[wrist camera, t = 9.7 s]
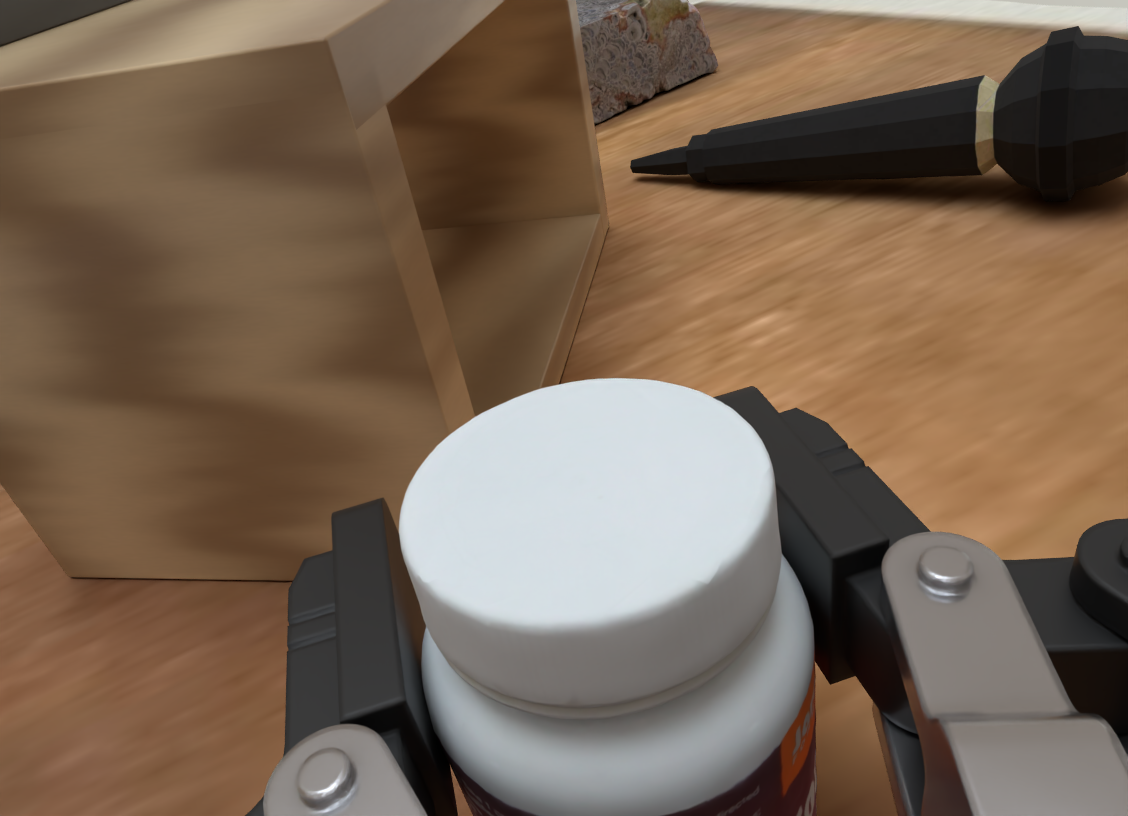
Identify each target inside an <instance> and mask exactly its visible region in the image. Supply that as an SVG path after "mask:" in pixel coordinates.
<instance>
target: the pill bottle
mask: <svg viewBox="0 0 1128 816" xmlns="http://www.w3.org/2000/svg"><path fill="white" fill-rule="evenodd" d="M399 537H400V544H401V551H402V555H403V558H404V562H405V564H406V567H407V570H408V572H409V575H410V578H411V581H412V584H413V587H414V590H415V592H416V595H417V598H418V601H419V604H420V608H421V613H422V616H423V619H424V622H425V624H426V629H425V633H424V638H423V643H422V659H421V669H422V684H423V689H424V694H425V699H426V703H427V707H428V711H429V714H430V718H431V722H432V726H433V729H434V732H435V735H436V737H437V740H438V741H439V743H440V745H441V747H442V749H443V751H444V753H445V755H446V757H447V759H448V761H449V763H450V765H451V767H452V770H453V772H454V774H455V776H456V779H457V781H458V783H459V786H460V788H461V790H462V792H463V794H464V797H465V799H466V801H467V803H468V806H469V808H470V810H471V812H472V814H473V816H817V815H816V812H817V807H816V791H817V774H816V733H815V726H816V711H815V678H816V676H815V649H814V626H813V622H812V618H811V613H810V609H809V605H808V602H807V599H806V596H805V594H804V591H803V589H802V586H801V584H800V582H799V580H798V578H797V576H796V574H795V573H794V571H793V569H792V567H791V566H790V564H789V563H788V561H787V560H786V558H785V557H784V556H783V554H782V550H781V541H780V534H779V525H778V513H777V498H776V486H775V477H774V471H773V467H772V463H771V460H770V457H769V454H768V452H767V450H766V448H765V446H764V444H763V442H762V440H761V438H760V437H759V435H758V434H757V433H756V431H755V430H754V429H753V427H752V426H751V425H750V424H749V423H748V422H747V421H746V420H745V419H743V418H742V417H741V416H740V415H739V414H738V413H737V412H736V411H734V410H733V409H732V408H731V407H729V406H727V405H725V404H724V403H722V402H720V401H718V400H716V399H714V398H712V397H711V396H708V395H706V394H704V393H702V392H700V391H696V390H693V389H690V388H687V387H684V386H680V385H675V384H671V383H666V382H661V381H655V380H647V379H627V378H609V379H589V380H583V381H574V382H569V383H564V384H560V385H555V386H550V387H545V388H541V389H538V390H535V391H532V392H529V393H527V394H524V395H521V396H519V397H516V398H514V399H511V400H509V401H507V402H505V403H503V404H500V405H498V406H496V407H494V408H491V409H489V410H487V411H485V412H483V413H481V414H480V415H478V416H476V417H474V418H473V419H471V420H470V421H468V422H467V423H465V424H464V425H462V426H461V427H460V428H458V429H457V430H456V431H454V432H453V433H452V434H450V435H449V436H448V437H446V438H445V439H444V440H443V441H442V442H441V443H440V444H439V445H437V447H436V448H435V449H434V450H433V451H432V452H431V453H430V454H429V456H428V457H427V458H426V459H425V461H424V462H423V463H422V465H421V466H420V467H419V469H418V470H417V472H416V473H415V475H414V477H413V479H412V480H411V482H410V484H409V486H408V488H407V491H406V493H405V496H404V500H403V504H402V507H401V512H400V520H399Z"/></svg>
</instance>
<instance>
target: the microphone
mask: <svg viewBox="0 0 1128 816" xmlns="http://www.w3.org/2000/svg"><path fill="white" fill-rule="evenodd" d="M996 164H998V165H999V166H1000V167H1001V168H1002V169H1003V170H1004V171H1005V172H1006V173H1008V174H1009V175H1010V176H1011V177H1012V178H1013V179H1014V180H1015V181H1016V182H1017V183H1018V184H1021V185H1024V186H1026V187H1029V188H1032V189H1035V190H1037V191H1040V192H1041V194H1042V197H1043V200H1044V201H1070V199H1071V198H1072V196H1073V194H1074V193H1075V191H1077V190H1081V189H1085V188H1089V187H1093V186H1097V185H1100V184H1103V183H1105V182H1108V181H1110V180H1113V179H1115V178H1117V177H1120V176H1122V175H1125V174H1126V173H1127V172H1128V40H1124V39H1119V38H1114V37H1109V36H1084V35H1083V34H1082V32H1081V30H1080V28H1079V26H1077V27H1072V28H1067V29H1063V30H1058V31H1053V32H1051V34H1050V36H1049V39H1048V41H1047V43H1046V44H1045V45H1043V46H1041V47H1040V48H1038V49H1036V50H1035V51H1033V52H1031V53H1030V54H1028V55H1026V56H1025V57H1023V58H1022V59H1021V60H1020V61H1019V62H1018V63H1017V64H1016V66H1015V67H1014V68H1013V69H1012V70H1011V71H1010V73H1009V74H1008V75H1007V76H1006V77H1005V78H1004V80H1003V81H1002V82H1001V83H1000V84H998V83H997V82H995V81H993V80H992V79H990V78H988V77H987V76H985V75H984V76H979V77H974V78H969V79H964V80H958V81H953V82H948V83H943V84H938V85H933V86H928V87H923V88H918V89H913V90H908V91H903V92H898V93H893V94H888V95H883V96H878V97H873V98H868V99H863V100H858V101H853V102H848V103H843V104H838V105H833V106H828V107H823V108H818V109H813V110H808V111H803V112H798V113H793V114H788V115H783V116H778V117H773V118H768V119H763V120H758V121H753V122H748V123H743V124H738V125H733V126H728V127H723V128H718V129H712V130H711V131H710V132H709V133H707V134H703V135H695V136H692V138H691V140H690V142H689V144H688V146H685V147H679V148H674V149H670V150H667V151H663V152H660V153H656V154H653V155H649V156H646V157H642V158H638V159H635V160H632V161H631V166H630V168H631V170H632V172H633V173H644V174H661V175H686V174H689V175H690V176H691V177H692V178H693V179H695V180H696V181H697V182H703V181H711V182H712V183H714V184H732V183H762V182H792V181H822V180H852V179H898V178H917V177H943V176H973V175H983V174H984V173H986V172H987V171H988V170H990V169H991V168H992V167H994V166H995V165H996Z"/></svg>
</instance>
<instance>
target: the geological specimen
mask: <svg viewBox="0 0 1128 816" xmlns="http://www.w3.org/2000/svg"><path fill="white" fill-rule="evenodd" d="M576 5H577V12H578V18H579V25H580V32H581V38H582V45H583V52H584V59H585V65H586V72H587V79H588V85H589V92H590V99H591V105H592V112H593V119H594V124H597V123H599V122H602V121H604V120H606V119H608V118H610V117H612V116H613V115H614V114H616V113H619V112H622V111H624V110H625V109H626V108H627V106H629V105H637V104H639V103H641V102H642V101H643V100H647V99H650V98H652V97H653V95H654V94H656V93H658V92H661V91H667V90H670V89H671V88H673V87H675V86H677V85H680V84H683V83H685V82H687V81H689V80H691V79H694V78H696V77H698V76H700V75H702V74H705V73H712V72H714V71H715V69H716V68H717V66H718V63H717V59H716V56H715V54H714V53H713V51H712V49H711V47H710V40H709V37H708V34H707V31H706V29H705V27H704V23H703V20H702V18H701V16H700V14H699V12H698V10H697V8H696V7H695V6H694V5H692V4H690V3H689V1H688V0H576Z"/></svg>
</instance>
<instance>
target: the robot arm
mask: <svg viewBox="0 0 1128 816" xmlns="http://www.w3.org/2000/svg"><path fill="white" fill-rule="evenodd" d="M713 398H714V399H716V400H718V401H720V402H722V403H724V404H725V405H727V406H729V407H731V408H732V409H733V410H734V411H736V412H737V413H738V414H739V415H740V416H741V417H742V418H743V419H745V420H746V421H747V422H748V423H749V424H750V425H751V426H752V427H753V429H754V430H755V431H756V433H757V434H758V435H759V437H760V438H761V440H762V442H763V444H764V446H765V448H766V450H767V452H768V454H769V457H770V460H771V463H772V467H773V471H774V477H775V486H776V498H777V513H778V525H779V534H780V541H781V550H782V554H783V556H784V557H785V558H786V560H787V561H788V563H789V564H790V566H791V567H792V569H793V571H794V573H795V574H796V576H797V578H798V580H799V582H800V584H801V586H802V589H803V591H804V594H805V596H806V599H807V602H808V605H809V609H810V613H811V618H812V622H813V626H814V649H815V662H816V663H817V665H818V666H819V668H820V670H821V671H822V673H823V674H824V676H825V677H826V679H827V680H828V682H829V683H830V684H833V683H836V682H839V681H842V680H845V679H848V678H851V677H853V676H856V677H857V678H858V680H859V681H860V683H861V684H862V686H863V687H864V689H865V690H866V691H867V693H868V694H869V696H870V697H871V699H872V700H873V707H872V710H873V717H874V721H875V725H876V729H877V733H878V737H879V741H880V745H881V749H882V753H883V757H884V761H885V765H886V769H887V773H888V777H889V781H890V785H891V789H892V793H893V797H894V801H895V805H896V809H897V813H898V816H1128V519H1115V520H1109V521H1104V522H1101V523H1098V524H1096V525H1094V526H1092V527H1090V528H1089V529H1088V530H1086V531H1085V532H1084V533H1083V534H1082V536H1081V537H1080V539H1079V542H1078V545H1077V549H1076V553H1075V557H1067V558H1047V559H1027V560H1001V559H1000V558H999V557H998V555H996V554H995V553H994V552H993V551H992V550H990V549H989V548H987V547H986V546H984V545H983V544H981V543H979V542H977V541H975V540H973V539H970V538H967V537H964V536H961V535H957V534H952V533H946V532H931V531H930V530H929V529H928V528H927V527H926V526H925V525H924V524H923V523H922V522H921V521H920V520H919V519H918V518H917V517H916V516H915V515H914V514H913V513H912V512H911V510H910V509H909V508H908V507H907V506H906V505H905V504H904V503H903V502H902V501H901V500H900V499H899V498H898V497H897V496H896V495H895V494H894V493H893V492H892V490H891V489H890V488H889V487H888V486H887V485H886V484H885V483H884V482H883V481H882V480H881V479H880V478H879V477H878V476H877V475H876V474H875V473H874V472H873V471H872V469H871V468H870V467H869V466H867V467H866V466H865V464H864V461H863V460H862V459H861V458H860V457H859V456H858V455H857V454H856V453H855V452H854V451H853V450H852V448H851V449H849V448H848V445H847V443H846V442H845V441H844V440H843V439H842V438H841V437H840V436H839V435H838V434H837V433H836V432H835V431H834V430H833V428H832V427H831V426H830V425H829V424H828V423H827V422H825V421H822V420H820V419H818V418H816V417H814V416H812V415H810V414H808V413H806V412H804V411H802V410H800V409H797V408H794V409H791V410H788V411H784V412H781V413H778V412H777V410H776V409H775V408H774V407H773V406H772V405H771V404H770V402H769V401H768V400H767V399H766V398H765V397H764V396H763V394H762V393H761V392H760V391H759V390H758V389H757V388H755V387H753V386H750V387H747V388H744V389H740V390H737V391H733V392H730V393H727V394H723V395H720V396H717V397H713ZM331 525H332V550H331V551H328V552H325V553H322V554H318V555H315V556H312V557H308V558H305V559H304V560H303V562H302V564H301V566H300V568H299V570H298V572H297V574H296V576H295V578H294V580H293V582H292V584H291V586H290V588H289V594H288V622H289V626H288V636H287V646H288V649H289V651H287V678H286V720H285V748H284V756H283V758H282V759H281V761H280V762H279V763H278V765H277V766H276V768H275V769H274V771H273V773H272V775H271V777H270V779H269V781H268V784H267V787H266V790H265V794H264V796H263V798H262V799H261V800H260V801H259V802H258V803H257V805H256V806H255V807H254V808H253V809H252V810H251V811H250V812H249V813H248V814H246V815H245V816H458V813H457V807H456V800H455V794H454V788H453V782H452V776H451V770H450V763H449V761H448V759H447V757H446V755H445V753H444V751H443V749H442V747H441V745H440V743H439V741H438V740H437V737H436V735H435V732H434V729H433V726H432V722H431V718H430V714H429V711H428V707H427V703H426V699H425V694H424V689H423V684H422V669H421V659H422V643H423V638H424V633H425V629H426V624H425V622H424V619H423V616H422V613H421V608H420V604H419V601H418V598H417V595H416V592H415V590H414V587H413V584H412V581H411V578H410V575H409V572H408V570H407V567H406V564H405V562H404V558H403V555H402V551H401V544H400V537H399V533H398V530H397V528H396V525H395V522H394V520H393V517H392V515H391V512H390V510H389V507H388V505H387V503H386V501H385V499H384V498H383V497H382V498H379V499H376V500H372V501H369V502H366V503H362V504H359V505H356V506H352V507H349V508H346V509H342V510H339V511H336V512H333V513H332V516H331Z"/></svg>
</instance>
